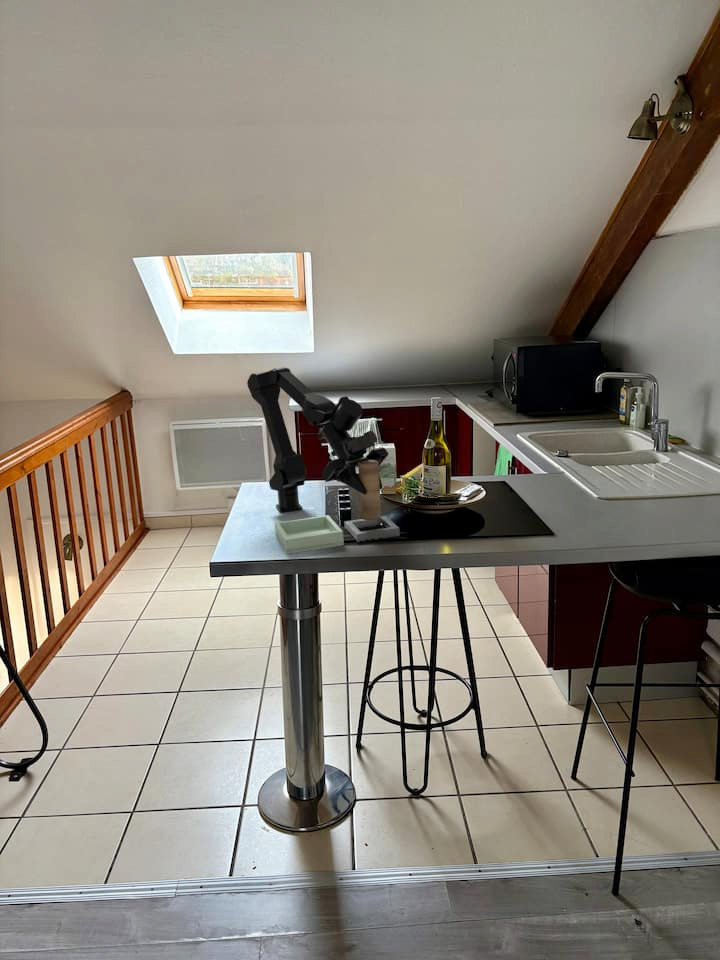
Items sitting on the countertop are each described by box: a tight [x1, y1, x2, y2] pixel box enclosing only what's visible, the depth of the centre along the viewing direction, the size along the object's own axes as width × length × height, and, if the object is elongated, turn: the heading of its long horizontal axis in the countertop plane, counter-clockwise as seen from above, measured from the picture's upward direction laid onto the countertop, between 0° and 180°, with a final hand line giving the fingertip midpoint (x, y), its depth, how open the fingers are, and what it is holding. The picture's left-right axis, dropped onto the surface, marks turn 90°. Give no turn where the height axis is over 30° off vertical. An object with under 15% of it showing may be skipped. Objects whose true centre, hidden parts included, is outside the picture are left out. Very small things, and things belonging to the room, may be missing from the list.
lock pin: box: [357, 460, 382, 520], centre depth 184 cm, size 5×5×14 cm
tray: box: [274, 514, 345, 555], centre depth 183 cm, size 14×14×4 cm
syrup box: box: [374, 443, 397, 487], centre depth 219 cm, size 6×6×14 cm
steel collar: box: [343, 515, 401, 543], centre depth 186 cm, size 11×11×2 cm
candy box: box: [401, 463, 422, 494], centre depth 214 cm, size 16×2×8 cm, turn 155°
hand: (373, 490), depth 183 cm, fingers closed on lock pin, 5 cm apart
